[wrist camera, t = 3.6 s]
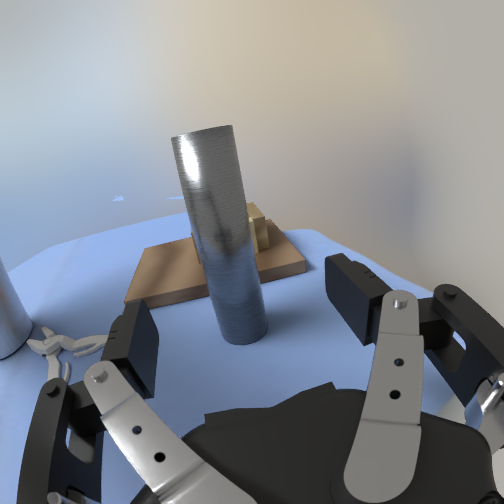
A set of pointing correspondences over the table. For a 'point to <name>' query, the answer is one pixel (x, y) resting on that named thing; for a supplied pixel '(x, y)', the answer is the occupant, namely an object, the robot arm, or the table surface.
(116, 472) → the table surface
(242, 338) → the steel pin
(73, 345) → the pliers
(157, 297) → the socket board
